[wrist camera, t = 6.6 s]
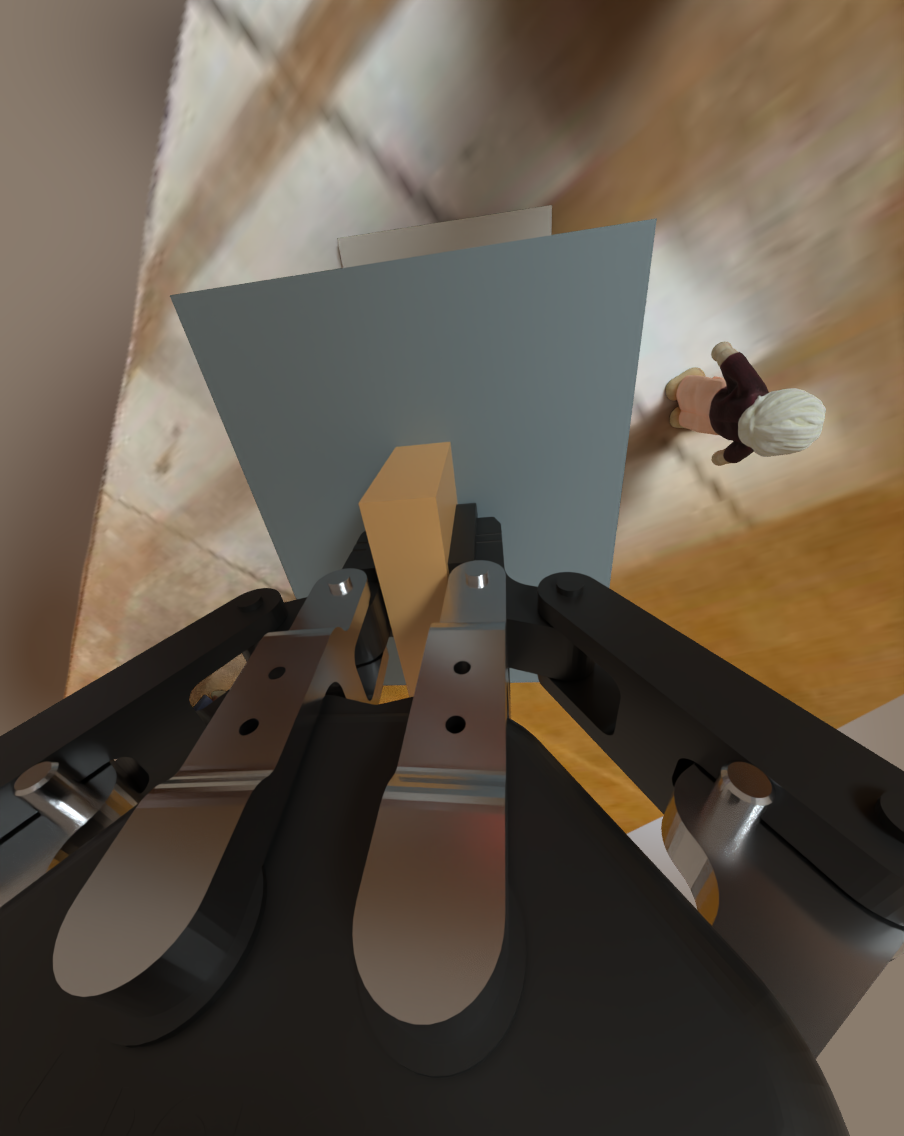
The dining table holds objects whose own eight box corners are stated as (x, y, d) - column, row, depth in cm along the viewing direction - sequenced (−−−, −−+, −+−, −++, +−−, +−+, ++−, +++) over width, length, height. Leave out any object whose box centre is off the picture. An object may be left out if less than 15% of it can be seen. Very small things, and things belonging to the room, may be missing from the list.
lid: (212, 297, 11) (1, 285, 6) (630, 233, 10) (773, 154, 5) (345, 656, 19) (297, 775, 14) (587, 648, 17) (627, 777, 13)
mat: (339, 239, 26) (337, 238, 26) (550, 206, 25) (552, 204, 24) (385, 471, 34) (384, 473, 34) (546, 457, 33) (546, 459, 32)
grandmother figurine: (724, 424, 31) (857, 476, 20) (674, 449, 32) (774, 510, 21) (700, 327, 28) (841, 326, 17) (645, 359, 29) (744, 377, 18)
